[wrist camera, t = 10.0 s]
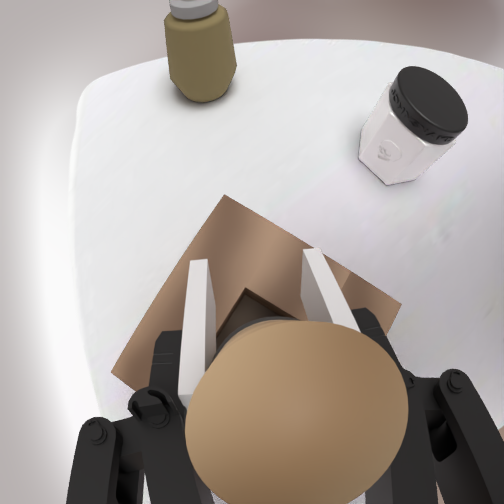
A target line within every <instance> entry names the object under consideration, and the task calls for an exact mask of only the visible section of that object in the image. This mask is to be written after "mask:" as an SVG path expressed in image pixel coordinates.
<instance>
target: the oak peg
mask: <svg viewBox="0 0 504 504" xmlns="http://www.w3.org/2000/svg"><path fill="white" fill-rule="evenodd" d="M407 421H408V396H407V391H406V387H405V383H404V381H403V378H402V375H401V373H400V371H399V369H398V367H397V365H396V364H395V362H394V361H393V359H392V358H391V357H390V356H389V354H388V353H387V352H386V351H385V350H384V349H383V348H382V347H381V346H380V345H379V344H378V343H376V342H375V341H373V340H372V339H371V338H369V337H368V336H366V335H364V334H362V333H360V332H358V331H356V330H354V329H351V328H348V327H345V326H342V325H339V324H333V323H328V322H317V321H301V320H298V319H294V318H290V317H280V316H279V317H265V318H260V319H257V320H253V321H251V322H248V323H246V324H244V325H242V326H241V327H239V328H237V329H236V330H235V331H234V332H232V333H231V334H230V335H229V336H228V337H227V338H226V339H225V340H224V341H223V343H222V344H221V345H220V347H219V348H218V350H217V351H216V353H215V355H214V357H213V360H212V362H211V365H210V367H209V368H208V369H207V371H206V372H205V374H204V375H203V377H202V378H201V380H200V381H199V383H198V385H197V387H196V389H195V390H194V392H193V395H192V398H191V400H190V403H189V406H188V411H187V415H186V423H185V437H186V446H187V450H188V453H189V457H190V460H191V462H192V464H193V466H194V469H195V470H196V472H197V473H198V475H199V477H200V478H201V480H202V481H203V482H204V483H205V484H206V486H207V487H208V488H209V489H210V490H211V491H212V492H213V493H215V494H216V495H217V496H218V497H219V498H221V499H222V500H224V501H225V502H227V503H228V504H347V503H349V502H350V501H352V500H354V499H355V498H357V497H358V496H360V495H361V494H363V493H364V492H365V491H366V490H368V489H369V488H370V487H371V486H372V485H373V484H374V483H375V482H376V481H377V480H378V479H379V478H380V477H381V476H382V475H383V474H384V472H385V471H386V470H387V469H388V467H389V466H390V464H391V463H392V461H393V460H394V458H395V456H396V454H397V452H398V450H399V448H400V446H401V444H402V441H403V438H404V435H405V431H406V426H407Z"/></svg>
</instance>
